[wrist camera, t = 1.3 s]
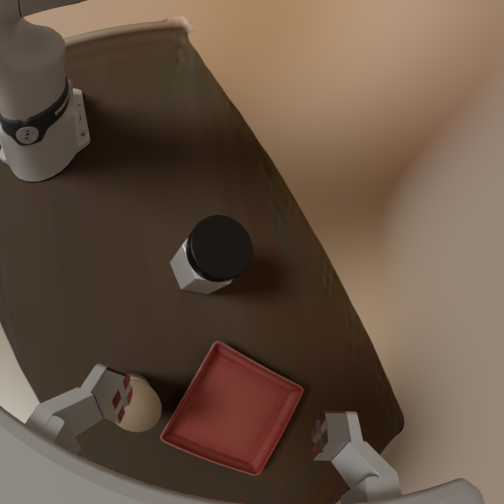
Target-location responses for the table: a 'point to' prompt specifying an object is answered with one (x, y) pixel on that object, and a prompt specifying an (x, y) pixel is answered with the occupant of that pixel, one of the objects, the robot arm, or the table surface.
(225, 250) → the jar
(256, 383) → the plant saucer
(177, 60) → the table surface
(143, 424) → the canister
